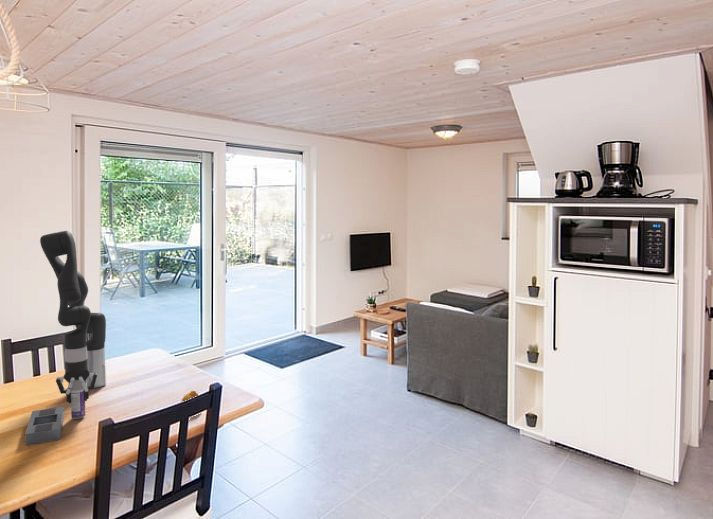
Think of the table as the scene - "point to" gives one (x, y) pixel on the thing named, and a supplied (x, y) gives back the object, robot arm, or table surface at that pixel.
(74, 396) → the container
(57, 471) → the table surface
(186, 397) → the fruit
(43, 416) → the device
